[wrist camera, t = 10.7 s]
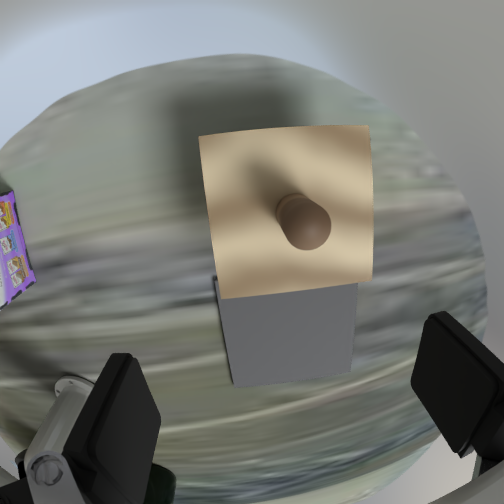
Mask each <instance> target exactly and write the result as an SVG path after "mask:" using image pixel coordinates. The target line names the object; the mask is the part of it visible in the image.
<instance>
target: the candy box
mask: <svg viewBox="0 0 504 504" xmlns="http://www.w3.org/2000/svg"><path fill="white" fill-rule="evenodd" d="M35 283H36V279H35V276H34V273H33V270H32V267H31V264H30V260H29V257H28V253H27V250H26V246H25V243H24V239H23V235H22V231H21V227H20V222H19V218H18V214H17V209H16V203H15V199H14V193H13V191H8V192H5V193H2V194H0V311H1V310H2V309H3V308H4V307H6V306H7V305H8V304H9V303H10V302H11V301H13V300H14V299H15V298H16V297H18V296H19V295H20V294H21V293H22V292H24V291H25V290H26V289H27V288H29V287H30V286H32V285H33V284H35Z"/></svg>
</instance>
